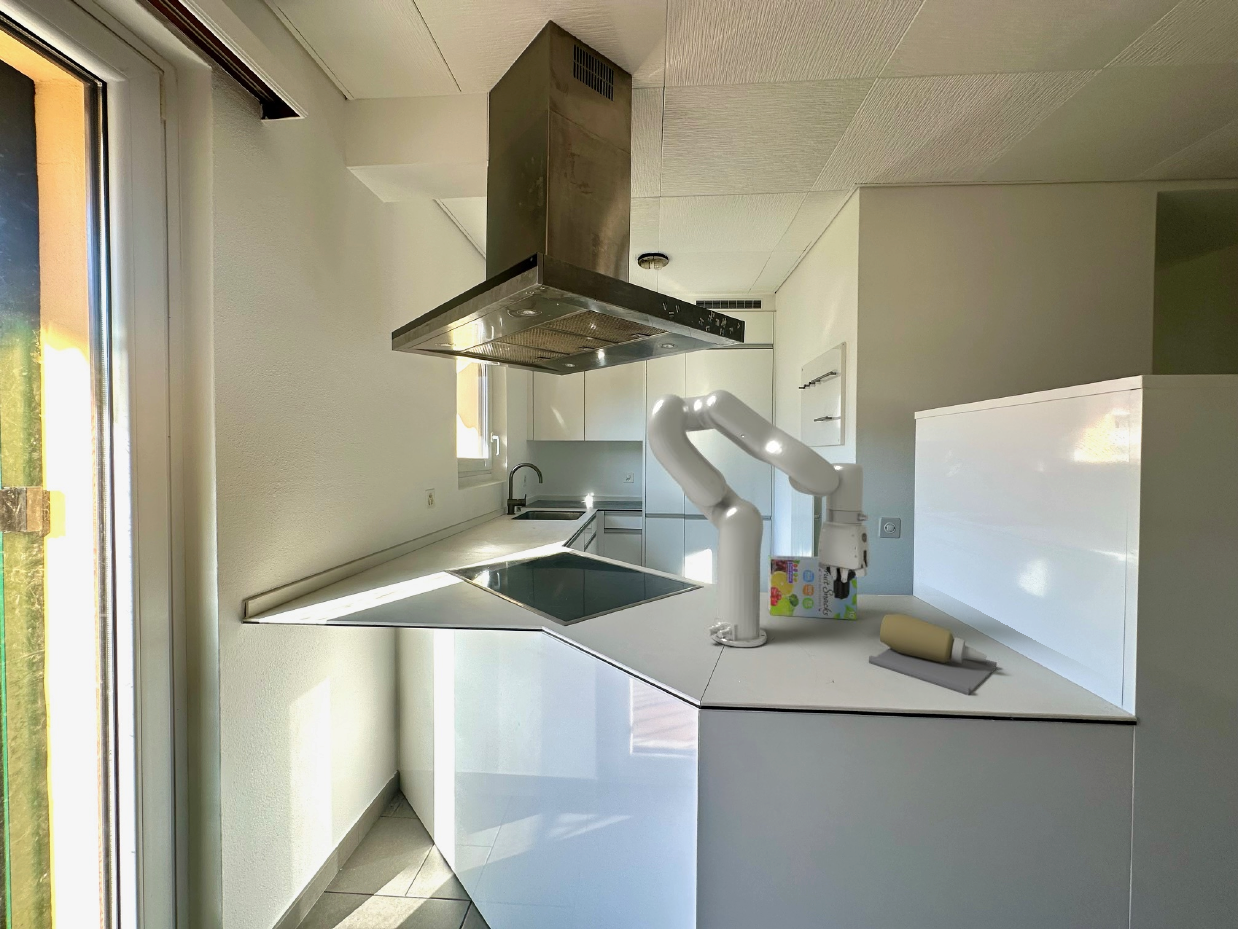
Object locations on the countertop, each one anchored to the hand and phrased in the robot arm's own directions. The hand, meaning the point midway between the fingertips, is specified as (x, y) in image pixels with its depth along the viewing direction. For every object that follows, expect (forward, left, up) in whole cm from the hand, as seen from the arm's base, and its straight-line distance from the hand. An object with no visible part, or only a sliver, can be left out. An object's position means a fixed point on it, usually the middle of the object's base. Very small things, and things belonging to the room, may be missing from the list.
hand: (841, 597), depth 112 cm
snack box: (+10, +13, -10) cm, 19 cm away
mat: (0, -18, -9) cm, 21 cm away
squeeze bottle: (+1, -9, -5) cm, 10 cm away
